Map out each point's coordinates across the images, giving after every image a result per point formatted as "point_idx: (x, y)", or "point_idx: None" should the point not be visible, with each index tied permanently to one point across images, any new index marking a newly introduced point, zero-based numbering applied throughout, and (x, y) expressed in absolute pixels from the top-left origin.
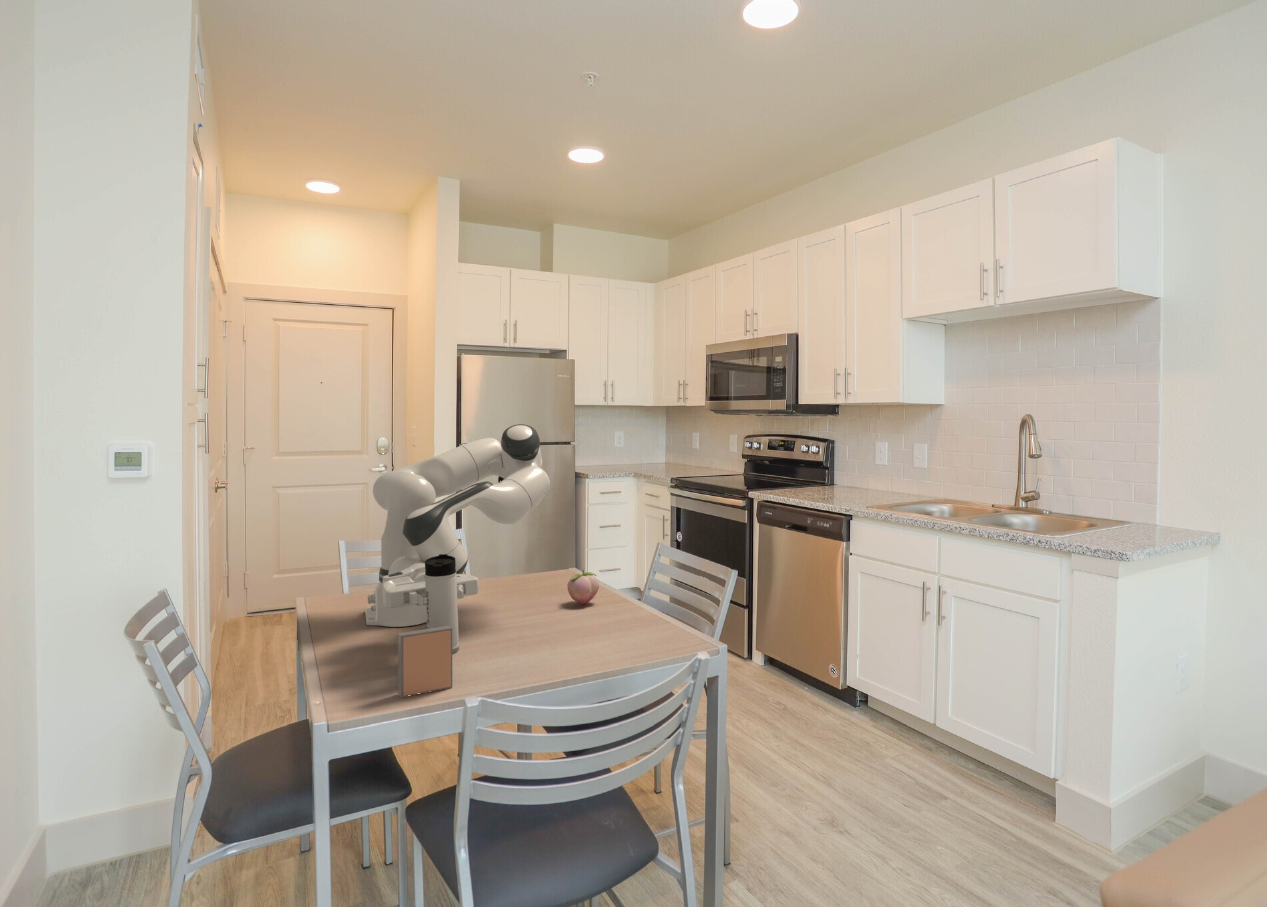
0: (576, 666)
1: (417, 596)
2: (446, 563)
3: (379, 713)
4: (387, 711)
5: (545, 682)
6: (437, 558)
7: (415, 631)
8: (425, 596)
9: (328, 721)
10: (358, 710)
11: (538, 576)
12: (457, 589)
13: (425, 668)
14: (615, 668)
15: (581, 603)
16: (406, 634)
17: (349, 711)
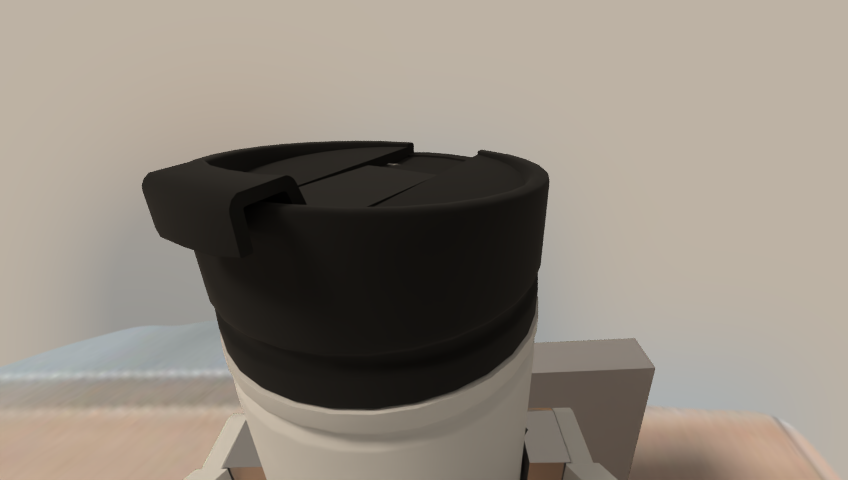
0: (66, 475)
1: (595, 469)
2: (361, 151)
3: (648, 414)
4: None
5: (233, 411)
6: (319, 234)
7: (579, 362)
8: (529, 409)
9: (778, 423)
10: (718, 455)
11: None
12: (243, 452)
13: None
14: (44, 415)
15: None
16: (614, 345)
17: (745, 460)
